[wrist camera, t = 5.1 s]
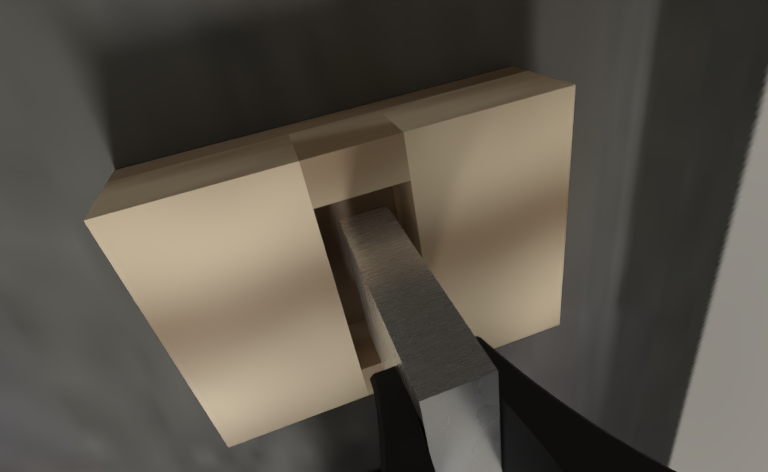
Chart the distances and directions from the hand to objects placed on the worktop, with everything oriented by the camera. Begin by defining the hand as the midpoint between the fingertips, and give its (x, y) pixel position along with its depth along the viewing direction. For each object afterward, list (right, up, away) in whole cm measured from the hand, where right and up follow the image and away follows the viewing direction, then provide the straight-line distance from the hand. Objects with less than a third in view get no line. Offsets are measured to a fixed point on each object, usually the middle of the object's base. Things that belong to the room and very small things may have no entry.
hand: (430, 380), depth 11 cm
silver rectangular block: (-1, +2, +4) cm, 5 cm away
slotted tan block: (-2, +4, +6) cm, 8 cm away
